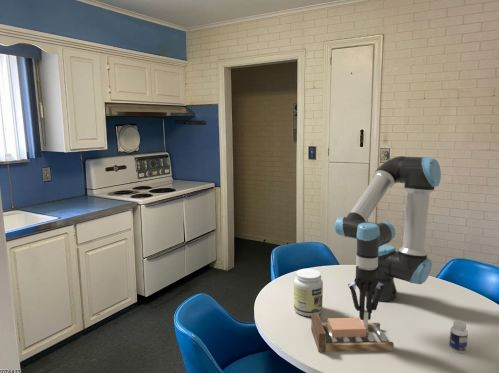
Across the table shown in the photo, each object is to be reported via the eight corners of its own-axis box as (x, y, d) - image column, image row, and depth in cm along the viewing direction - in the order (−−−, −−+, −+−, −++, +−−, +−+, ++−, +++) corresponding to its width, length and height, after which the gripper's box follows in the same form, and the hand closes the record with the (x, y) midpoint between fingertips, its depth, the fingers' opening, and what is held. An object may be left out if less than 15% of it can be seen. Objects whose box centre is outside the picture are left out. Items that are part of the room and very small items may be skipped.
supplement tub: (315, 320, 155) (316, 281, 152) (288, 312, 161) (289, 275, 158) (326, 308, 165) (327, 271, 162) (300, 301, 171) (301, 265, 168)
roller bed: (324, 329, 146) (324, 323, 145) (377, 328, 146) (377, 322, 145) (330, 346, 135) (331, 339, 134) (387, 344, 135) (388, 338, 135)
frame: (378, 328, 148) (379, 311, 147) (393, 350, 134) (394, 332, 132) (311, 330, 147) (311, 313, 146) (318, 352, 133) (319, 333, 132)
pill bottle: (445, 344, 137) (447, 319, 135) (460, 344, 137) (462, 318, 135) (455, 353, 131) (457, 327, 130) (469, 352, 132) (472, 326, 130)
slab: (359, 324, 144) (359, 317, 144) (365, 336, 136) (366, 328, 136) (327, 325, 144) (327, 318, 143) (332, 337, 136) (332, 329, 135)
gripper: (380, 262, 140) (378, 321, 143) (345, 263, 139) (344, 322, 143) (388, 269, 132) (385, 332, 136) (351, 270, 132) (349, 333, 136)
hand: (364, 327), depth 140 cm, fingers closed
